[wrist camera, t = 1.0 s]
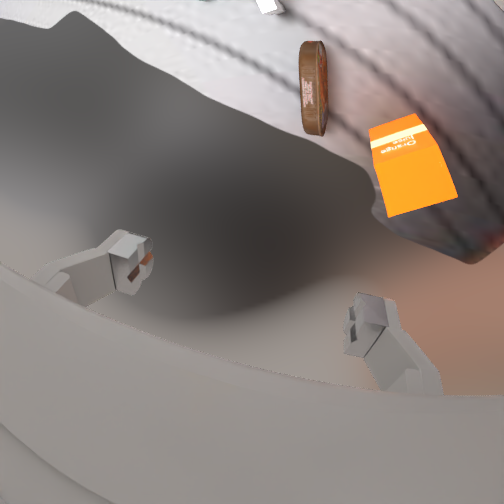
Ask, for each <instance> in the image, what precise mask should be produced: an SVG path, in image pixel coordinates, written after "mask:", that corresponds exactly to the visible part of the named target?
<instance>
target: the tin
mask: <svg viewBox="0 0 504 504" xmlns="http://www.w3.org/2000/svg"><path fill="white" fill-rule="evenodd" d="M299 80H300V98H301V114H302V124H303V128H304V131H305V132H306V133H307V134H310V135H320V136H324V133H325V130H326V124H327V117H328V85H327V61H326V52H325V48H324V44H323V42H322V41H305V42H304V43H303V44H302V45H301V47H300V52H299Z"/></svg>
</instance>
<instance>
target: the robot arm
mask: <svg viewBox="0 0 504 504" xmlns="http://www.w3.org/2000/svg"><path fill="white" fill-rule="evenodd" d="M494 1H495V3H496V4H497V5H498V6H499V7H500V8H501V9H502V10H503V11H504V0H494ZM151 249H152V240H151V239H150V238H147V237H144V236H141V235H138V234H134V233H131V232H127V231H124V230H117V231H115V232H114V233H113V234H112V235H111V236H110V237H109V238H107V239H106V240H105V241H104V242H103V243H102V244H101V245H100V246H99V247H97V249H95V248H92V249H88V250H85V251H82V252H79V253H76V254H73V255H70V256H67V257H64V258H61V259H58V260H55V261H52V262H49V263H46V264H45V265H44V266H43V267H42V268H41V269H40V270H39V271H38V272H37V273H36V274H35V275H34V276H33V277H31V278H30V279H29V278H27V277H25V276H24V275H22V274H20V273H18V272H17V271H15V270H13V269H11V268H10V267H8V266H7V265H5V264H3V263H1V262H0V504H504V395H491V396H445V395H444V394H443V389H442V384H441V379H440V374H439V371H438V370H437V368H436V367H435V366H434V365H433V363H432V362H431V361H430V360H429V359H428V357H427V356H426V355H425V354H424V353H423V351H422V350H421V349H420V348H419V347H418V345H417V344H416V343H415V342H414V341H413V339H412V338H411V337H410V336H409V335H408V334H407V332H406V331H404V330H402V329H401V325H400V320H399V316H398V312H397V308H396V303H395V301H394V300H393V299H389V298H384V297H382V298H381V297H377V296H373V295H369V294H364V293H360V292H358V293H357V294H356V296H355V298H354V306H352V307H350V308H349V309H348V312H347V314H346V317H345V320H344V327H343V329H344V330H343V331H344V333H345V334H346V337H345V339H344V354H347V355H352V356H357V357H362V358H364V361H365V363H366V364H367V366H368V368H369V369H370V371H371V373H372V375H373V377H374V379H375V380H376V382H377V384H378V386H379V388H380V390H381V391H380V390H371V389H364V388H356V387H350V386H344V385H337V384H332V383H326V382H320V381H315V380H310V379H305V378H300V377H295V376H291V375H286V374H281V373H277V372H273V371H268V370H265V369H261V368H257V367H252V366H249V365H245V364H241V363H238V362H234V361H230V360H227V359H224V358H220V357H217V356H213V355H210V354H207V353H204V352H201V351H197V350H194V349H191V348H188V347H185V346H182V345H179V344H176V343H173V342H170V341H167V340H165V339H162V338H159V337H156V336H154V335H151V334H148V333H146V332H142V331H141V330H138V329H135V328H132V327H130V326H128V325H125V324H123V323H120V322H118V321H116V320H113V319H111V318H109V317H106V316H104V315H102V314H99V313H97V312H95V311H93V310H90V309H88V308H86V307H87V306H89V305H90V304H92V303H94V302H96V301H98V300H100V299H101V298H103V297H105V296H107V295H109V294H111V293H113V292H114V291H116V290H118V291H120V292H123V293H126V294H130V295H132V296H133V295H134V294H135V293H136V292H137V290H138V289H139V288H140V286H141V280H144V279H146V278H147V277H148V276H149V274H150V273H151V269H152V267H153V256H152V254H151V253H150V250H151Z"/></svg>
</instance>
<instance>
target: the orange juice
mask: <svg viewBox="0 0 504 504" xmlns="http://www.w3.org/2000/svg"><path fill="white" fill-rule="evenodd" d="M369 134H370V140H371V149H372V154H373V161H374V167H375V170H376V173H377V176H378V179H379V183H380V186H381V190H382V194H383V197H384V201H385V205H386V209H387V213H388V217H391V216H394V215H398V214H401V213H405V212H408V211H412V210H415V209H419V208H422V207H425V206H429V205H432V204H436V203H439V202H443V201H446V200H449V199H453V198H456V197H458V196H457V193H456V190H455V187H454V184H453V182H452V179H451V176H450V174H449V171H448V169H447V166H446V164H445V161H444V159H443V156H442V154H441V152H440V149H439V147H438V145H437V143H436V142H435V140H434V139H433V137H432V136H431V135H430V133H429V132H428V130H427V128H426V127H425V126H424V124H423V123H422V122H421V121H420V119H419V118H418V117H417V115H416V114H412V115H409V116H406V117H403V118H400V119H397V120H394V121H392V122H389V123H386V124H383V125H380V126H378V127H375V128H372V129H369Z"/></svg>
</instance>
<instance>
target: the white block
mask: <svg viewBox="0 0 504 504" xmlns="http://www.w3.org/2000/svg"><path fill="white" fill-rule="evenodd" d="M256 1H257V3H258V5H259V7H260V9H261V11H262V13H263V14H268V15H273V14H276V15H278V14H281V13H285V12H286V11H285V9H284V7H283V4H281V3H279V1H278V0H256Z"/></svg>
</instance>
